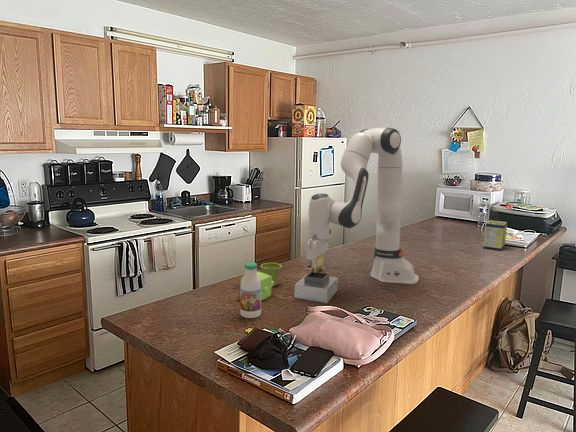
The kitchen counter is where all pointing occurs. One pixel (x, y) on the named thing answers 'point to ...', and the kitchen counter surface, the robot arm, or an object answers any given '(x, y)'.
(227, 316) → the kitchen counter surface
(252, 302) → the milk bottle
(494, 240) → the protein box
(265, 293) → the green teapot
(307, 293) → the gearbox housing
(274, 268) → the plant pot
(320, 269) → the tan cylinder
